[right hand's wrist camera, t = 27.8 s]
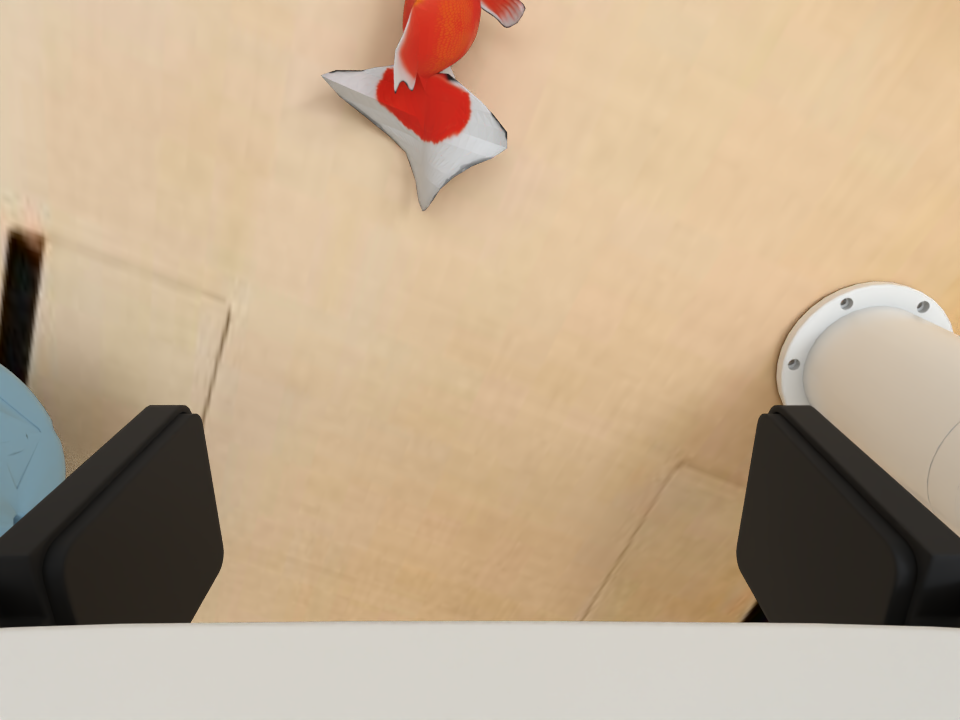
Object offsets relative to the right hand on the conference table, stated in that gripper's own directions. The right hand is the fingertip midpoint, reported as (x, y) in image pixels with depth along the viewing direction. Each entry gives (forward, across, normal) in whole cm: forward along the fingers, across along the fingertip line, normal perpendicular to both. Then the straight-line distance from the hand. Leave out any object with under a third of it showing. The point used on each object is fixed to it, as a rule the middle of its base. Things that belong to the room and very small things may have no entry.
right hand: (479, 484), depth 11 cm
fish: (+37, +3, -8) cm, 37 cm away
